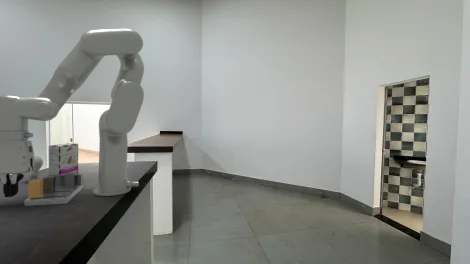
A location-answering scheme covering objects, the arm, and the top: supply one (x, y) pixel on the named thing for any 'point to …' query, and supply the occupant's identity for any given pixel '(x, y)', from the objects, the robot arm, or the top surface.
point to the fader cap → (35, 188)
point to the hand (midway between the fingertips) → (10, 195)
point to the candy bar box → (63, 158)
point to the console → (58, 189)
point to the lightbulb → (36, 167)
